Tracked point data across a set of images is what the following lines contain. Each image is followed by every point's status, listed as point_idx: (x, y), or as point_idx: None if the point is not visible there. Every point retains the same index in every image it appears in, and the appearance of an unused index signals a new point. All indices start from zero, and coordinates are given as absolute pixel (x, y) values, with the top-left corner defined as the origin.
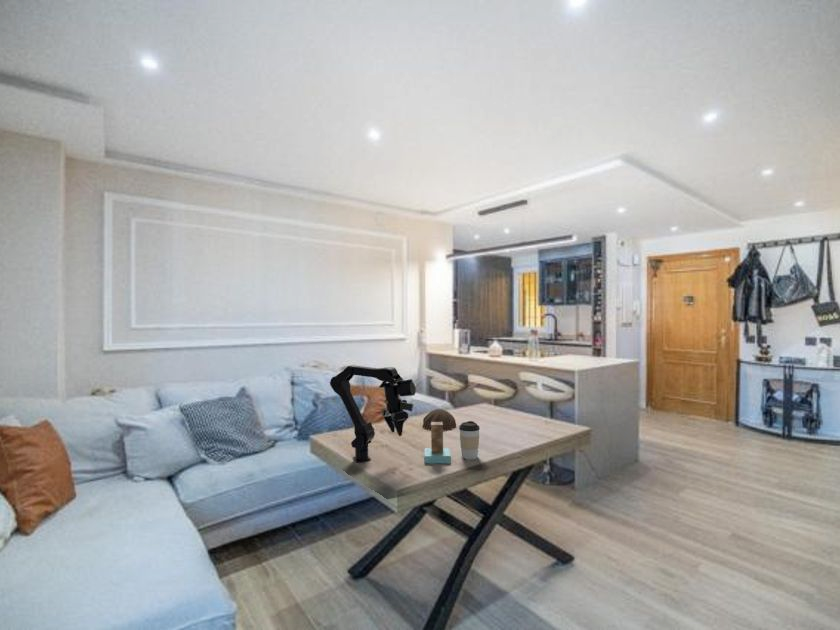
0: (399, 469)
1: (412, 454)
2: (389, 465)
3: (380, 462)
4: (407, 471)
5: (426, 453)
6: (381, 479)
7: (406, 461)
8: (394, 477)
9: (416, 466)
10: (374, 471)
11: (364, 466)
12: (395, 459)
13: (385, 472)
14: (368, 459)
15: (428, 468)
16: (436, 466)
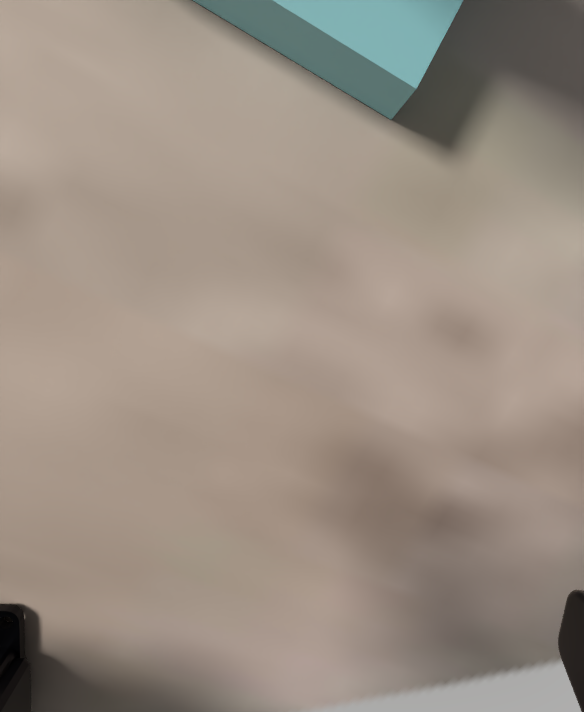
0: (410, 438)
1: (37, 96)
2: (258, 484)
3: (129, 534)
4: (497, 391)
5: (330, 4)
6: (538, 662)
7: (234, 276)
8: (560, 552)
9: (425, 248)
10: (336, 660)
11: (164, 704)
12: (114, 358)
13: (411, 581)
14: (18, 639)
15: (540, 162)
16: (538, 51)
